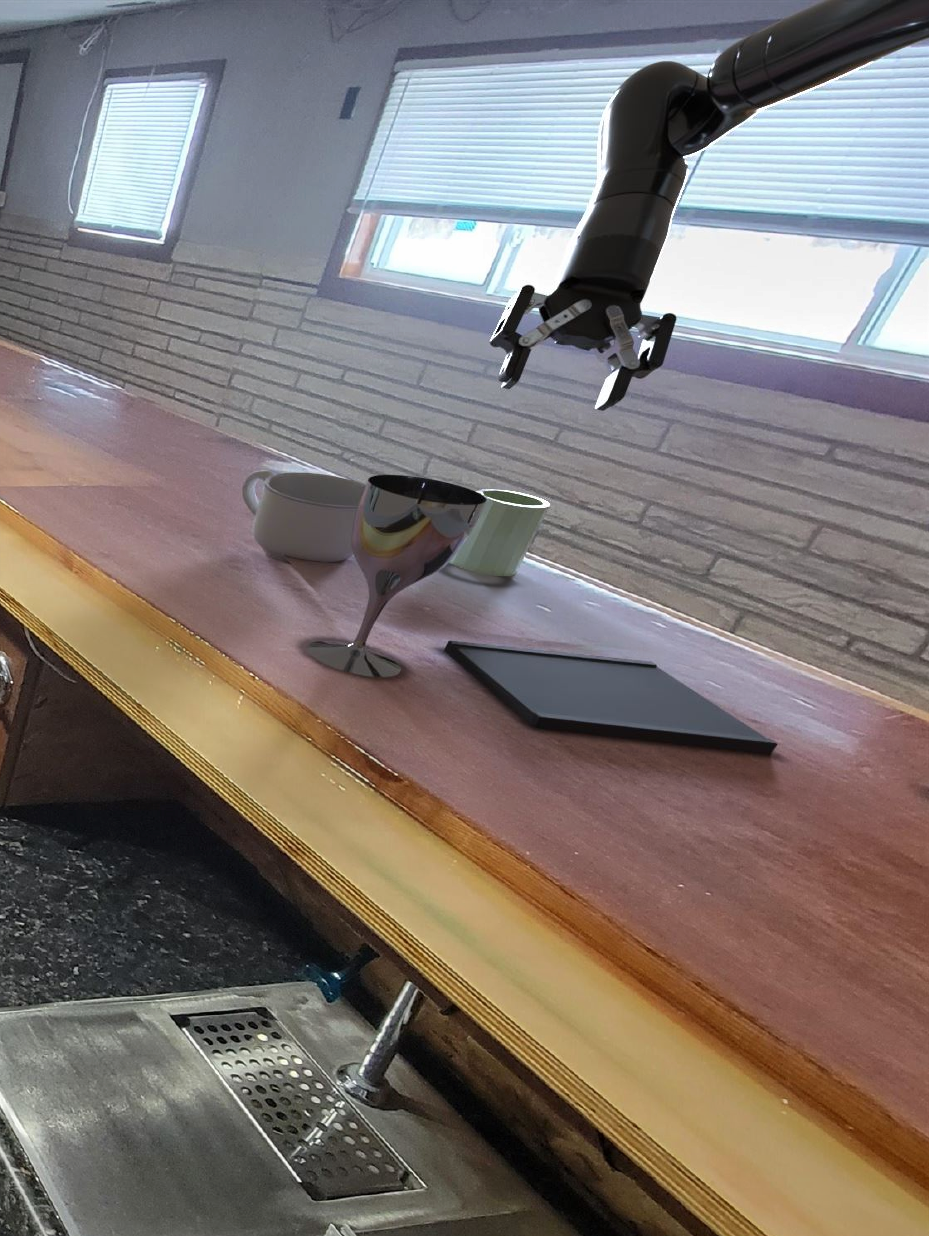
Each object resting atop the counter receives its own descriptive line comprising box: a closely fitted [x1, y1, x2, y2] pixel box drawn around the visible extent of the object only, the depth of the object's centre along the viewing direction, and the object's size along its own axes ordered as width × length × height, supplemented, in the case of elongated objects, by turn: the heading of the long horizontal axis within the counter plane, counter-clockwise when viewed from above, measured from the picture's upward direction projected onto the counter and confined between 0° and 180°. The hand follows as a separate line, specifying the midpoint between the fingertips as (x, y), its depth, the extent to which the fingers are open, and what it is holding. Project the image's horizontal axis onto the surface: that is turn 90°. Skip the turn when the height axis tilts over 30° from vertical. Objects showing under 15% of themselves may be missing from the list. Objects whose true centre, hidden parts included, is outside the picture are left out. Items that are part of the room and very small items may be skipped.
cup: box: [449, 488, 551, 577], centre depth 104 cm, size 6×6×8 cm
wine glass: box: [306, 474, 487, 678], centre depth 83 cm, size 8×8×15 cm
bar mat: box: [443, 640, 778, 756], centre depth 82 cm, size 16×14×1 cm
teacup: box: [241, 469, 366, 565], centre depth 108 cm, size 14×11×8 cm
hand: (556, 396), depth 104 cm, fingers open, 8 cm apart
